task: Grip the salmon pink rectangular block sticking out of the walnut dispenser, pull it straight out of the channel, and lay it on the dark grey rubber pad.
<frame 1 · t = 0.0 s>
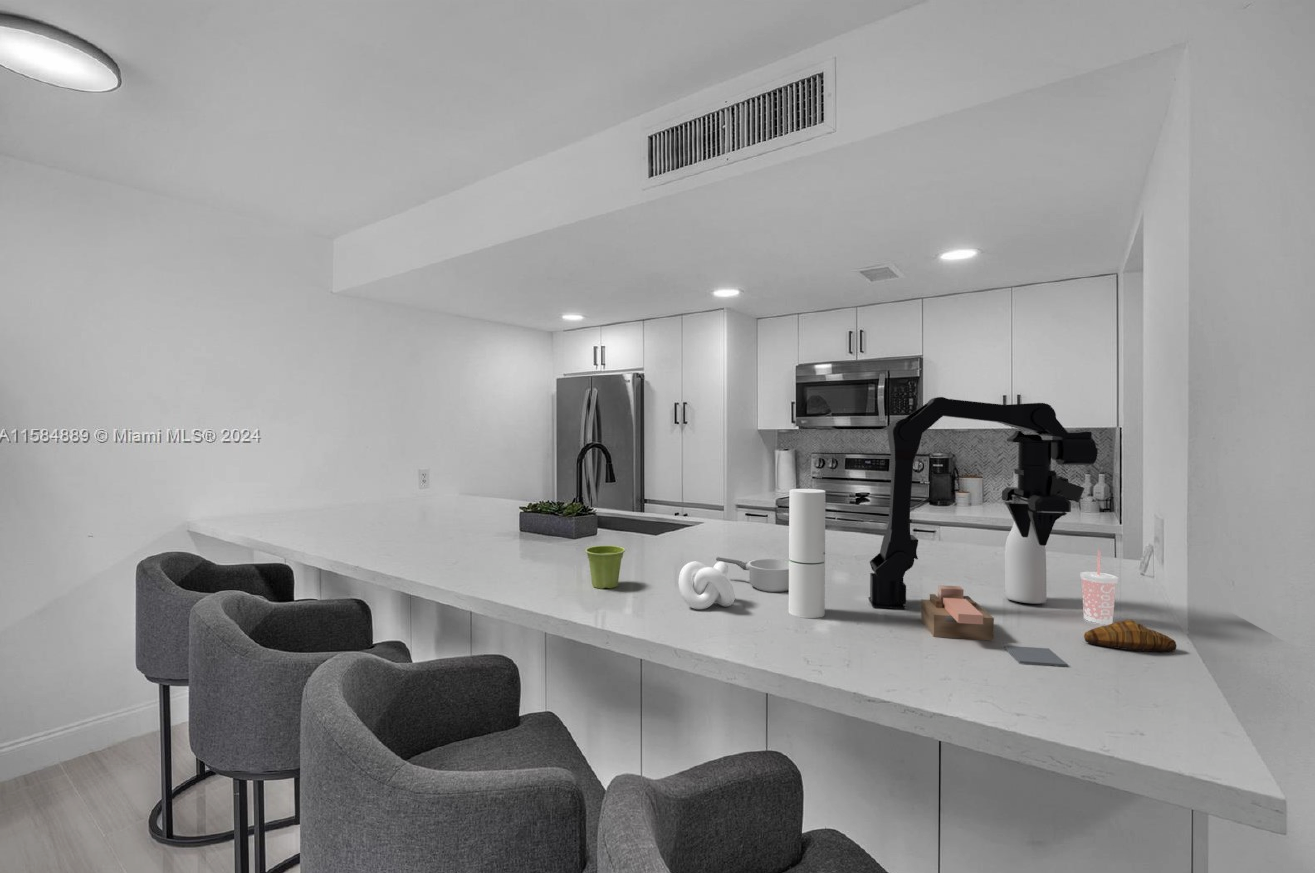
hand: (1033, 541, 125), 15 cm above the table, tool pointing down, fingers open, 8 cm apart
white decorative knot: (704, 606, 130), on the table
beverage cup: (1097, 621, 120), on the table
cylindrical container: (806, 613, 125), on the table
croissant: (1129, 649, 106), on the table
dispenser: (955, 629, 115), on the table
salmon pink rectangular block: (962, 614, 111), point 4 cm above the table, touching dispenser
pad: (1034, 656, 102), on the table
saucepan: (755, 585, 147), on the table
plant pot: (605, 586, 146), on the table
milk bottle: (1025, 601, 133), on the table, touching gripper
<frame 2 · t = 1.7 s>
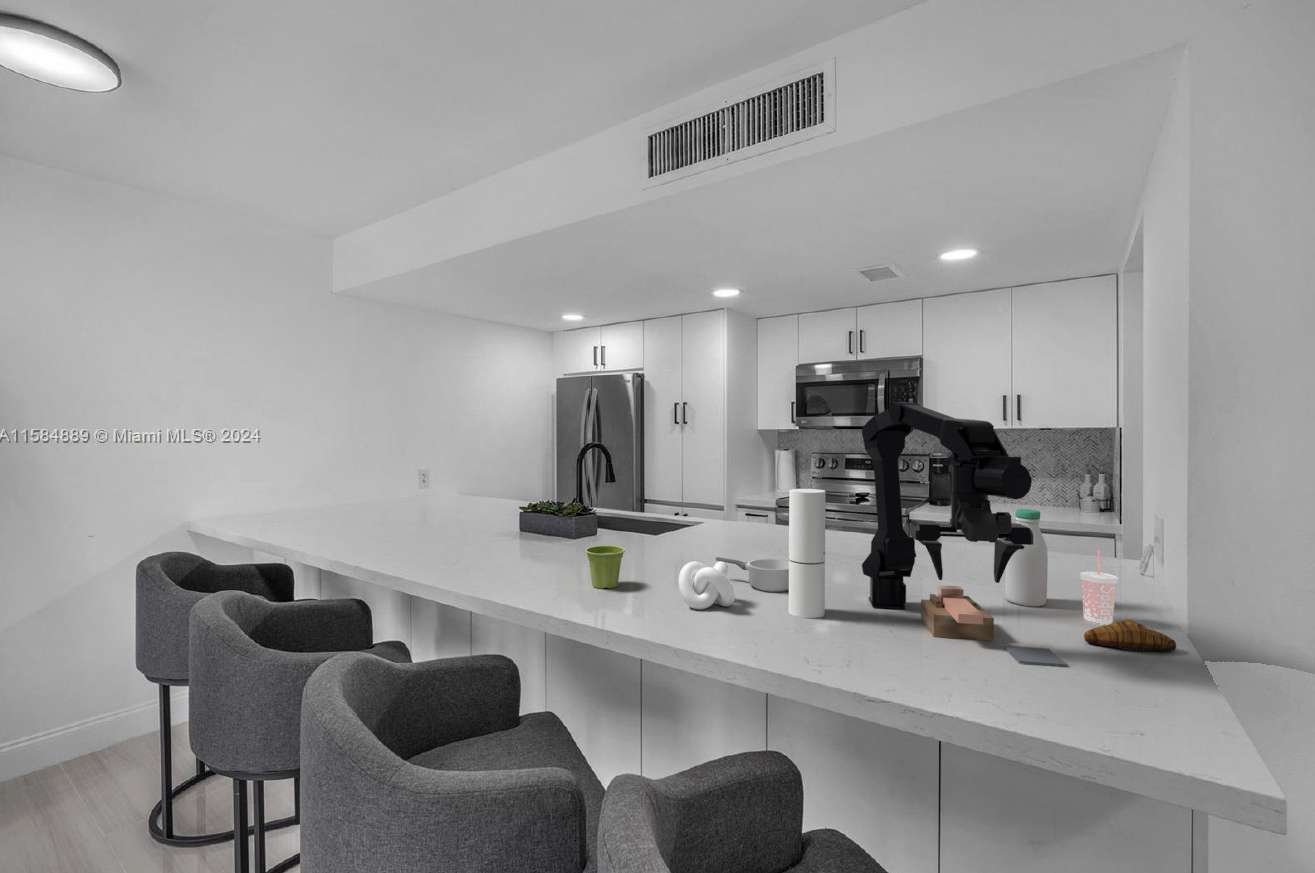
hand: (968, 580, 108), 11 cm above the table, tool pointing down, fingers open, 9 cm apart
milk bottle: (1025, 602, 133), on the table
everything else where it was.
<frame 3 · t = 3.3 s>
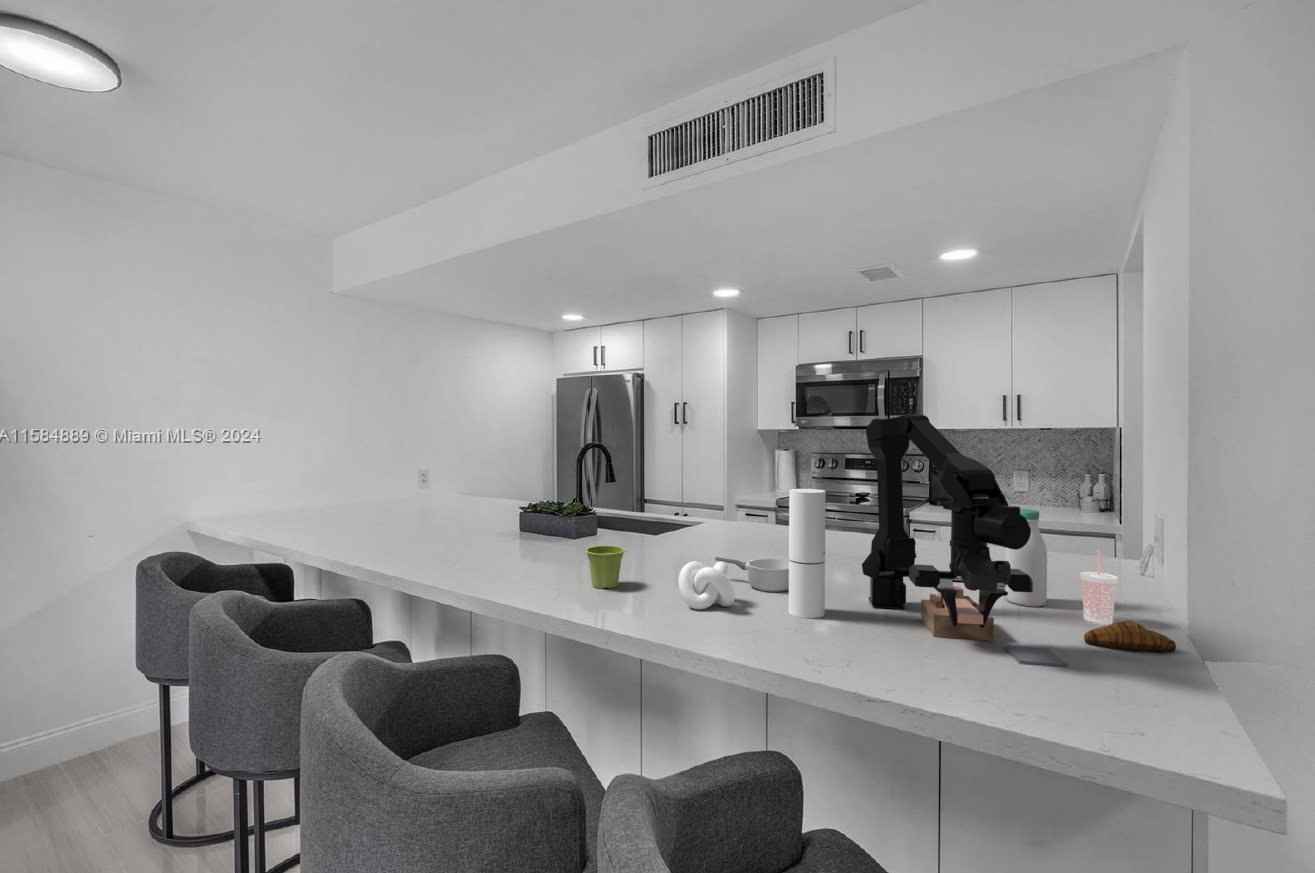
hand: (967, 626, 108), 3 cm above the table, tool pointing down, fingers closed on salmon pink rectangular block, 4 cm apart
salmon pink rectangular block: (962, 614, 111), point 4 cm above the table, touching dispenser, gripper
everything else where it was.
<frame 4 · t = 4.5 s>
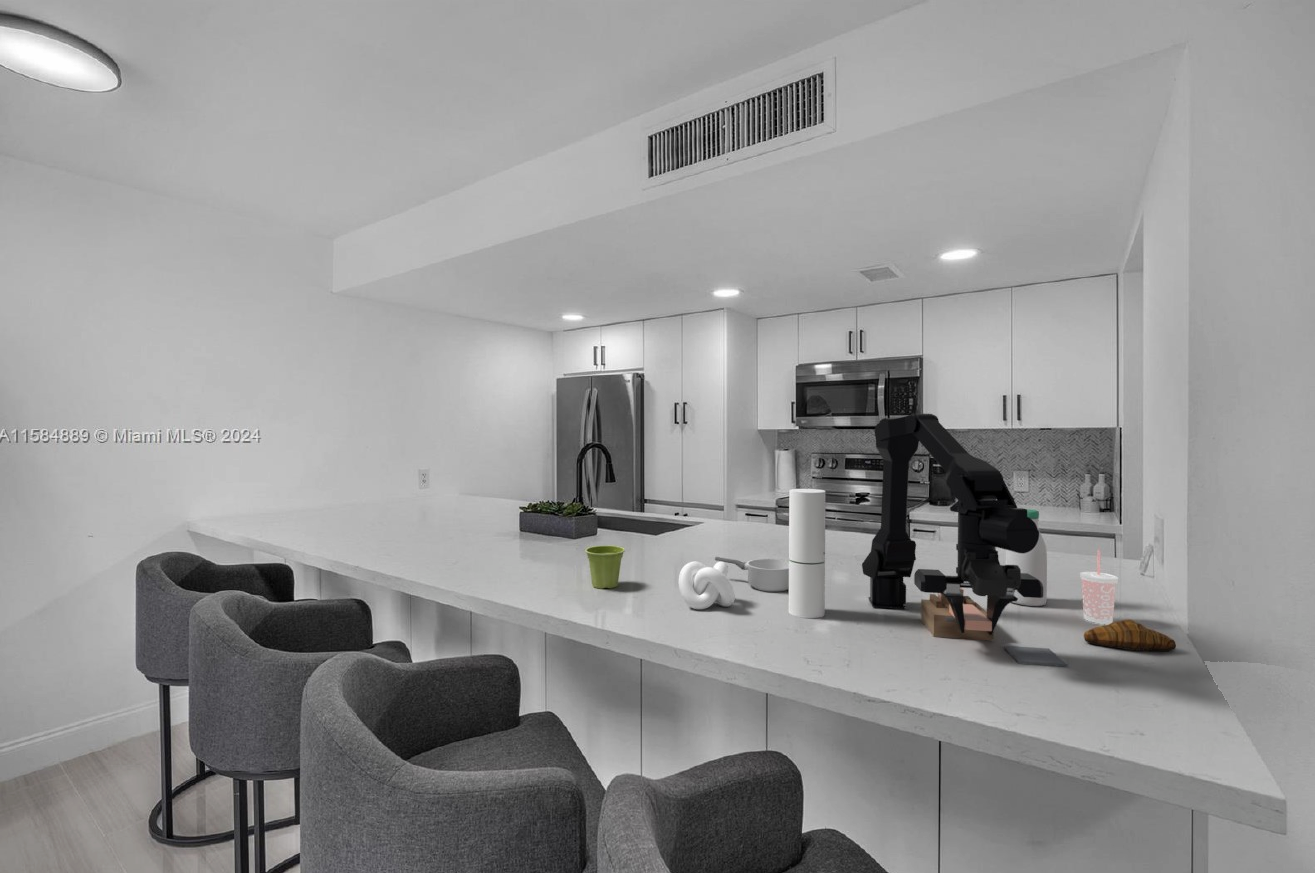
hand: (975, 633, 104), 3 cm above the table, tool pointing down, fingers closed on salmon pink rectangular block, 4 cm apart
salmon pink rectangular block: (969, 621, 107), point 4 cm above the table, touching gripper
everything else where it was.
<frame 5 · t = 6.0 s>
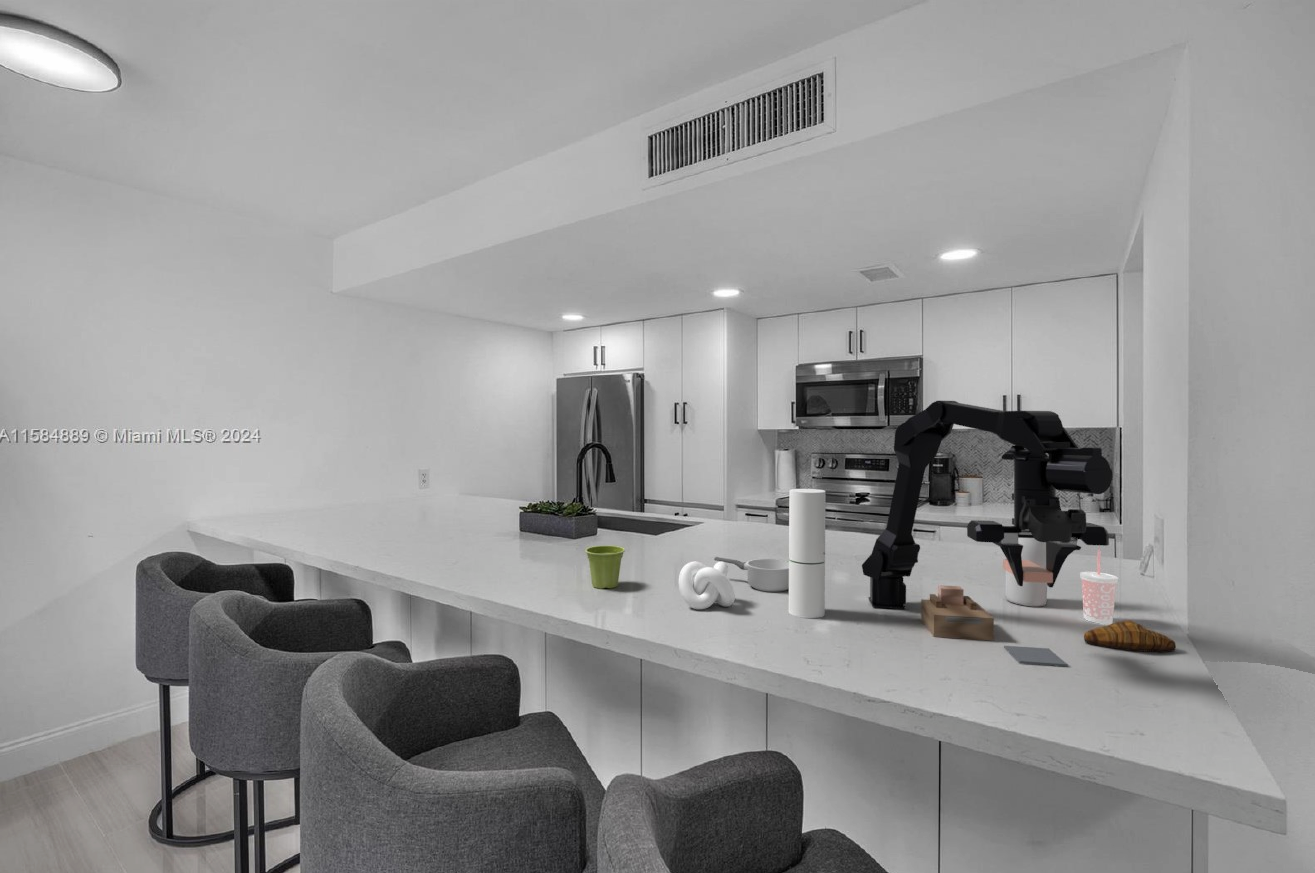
hand: (1035, 586, 98), 13 cm above the table, tool pointing down, fingers closed on salmon pink rectangular block, 4 cm apart
salmon pink rectangular block: (1026, 575, 101), point 14 cm above the table, touching gripper
everything else where it was.
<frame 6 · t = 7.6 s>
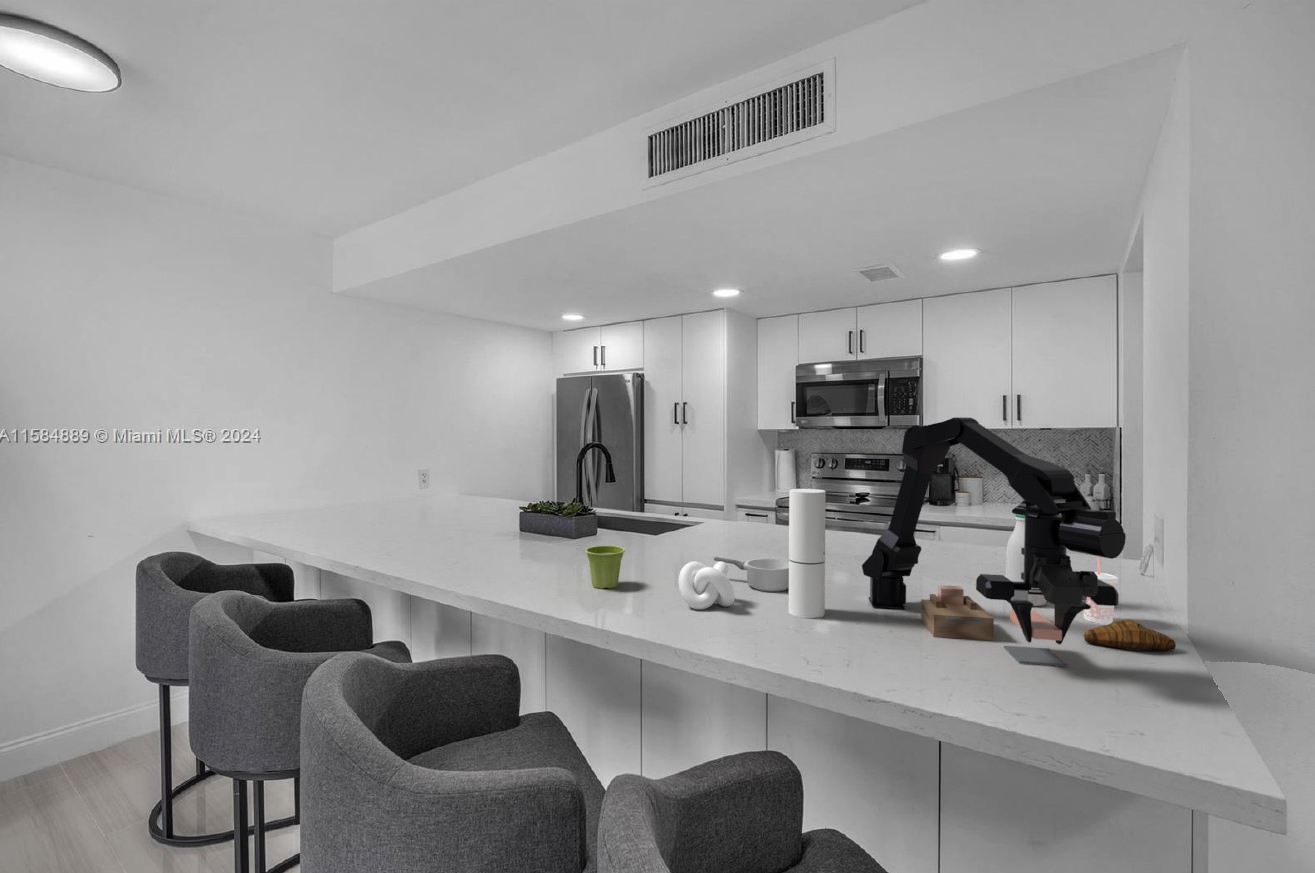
hand: (1043, 642, 98), 4 cm above the table, tool pointing down, fingers closed on salmon pink rectangular block, 4 cm apart
salmon pink rectangular block: (1034, 629, 102), point 5 cm above the table, touching gripper
everything else where it was.
when the fingers open (1 cm above the table, at t = 8.4 s): salmon pink rectangular block drops 2 cm, resting on pad.
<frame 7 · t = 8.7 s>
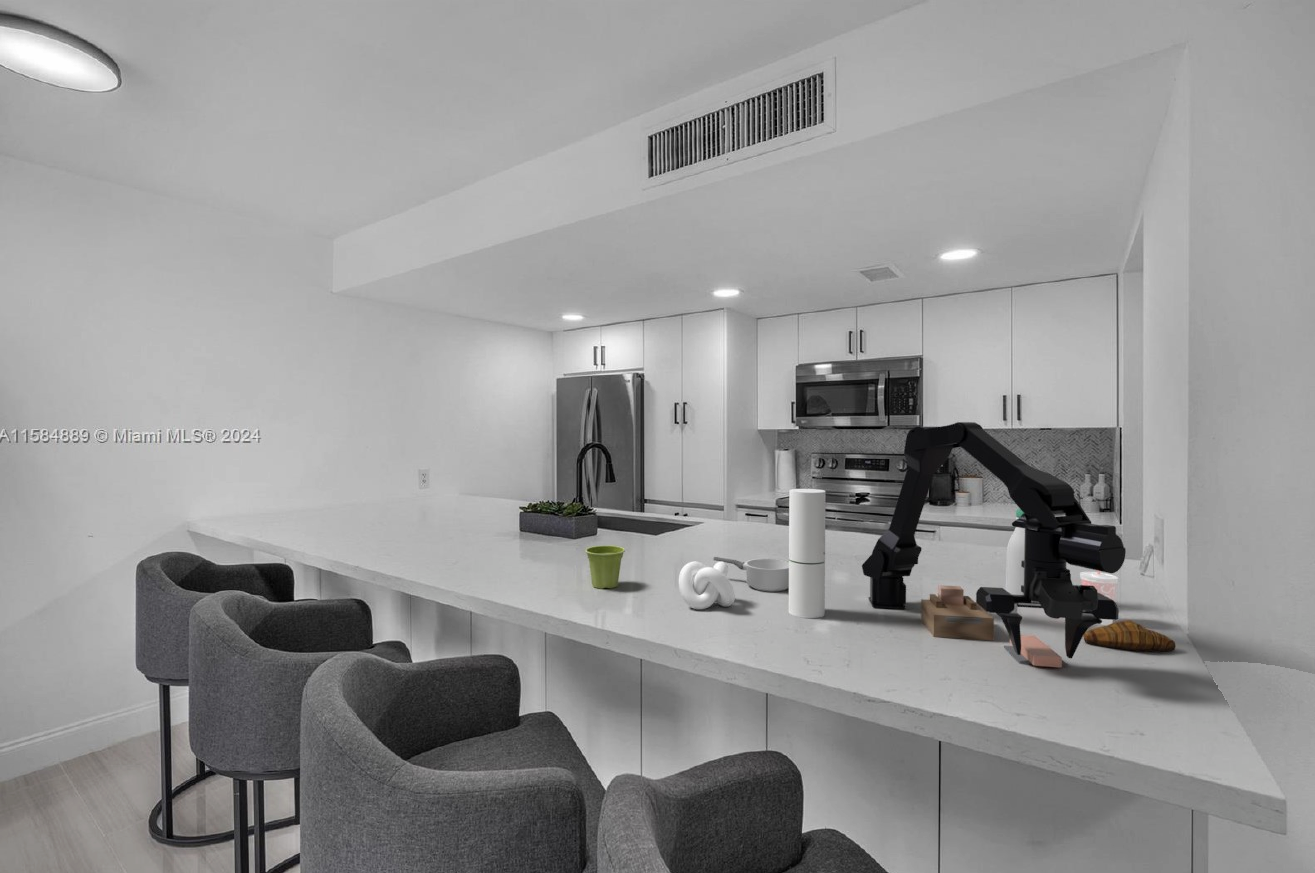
hand: (1043, 655, 98), 1 cm above the table, tool pointing down, fingers open, 7 cm apart
salmon pink rectangular block: (1034, 654, 102), resting on pad
everything else where it was.
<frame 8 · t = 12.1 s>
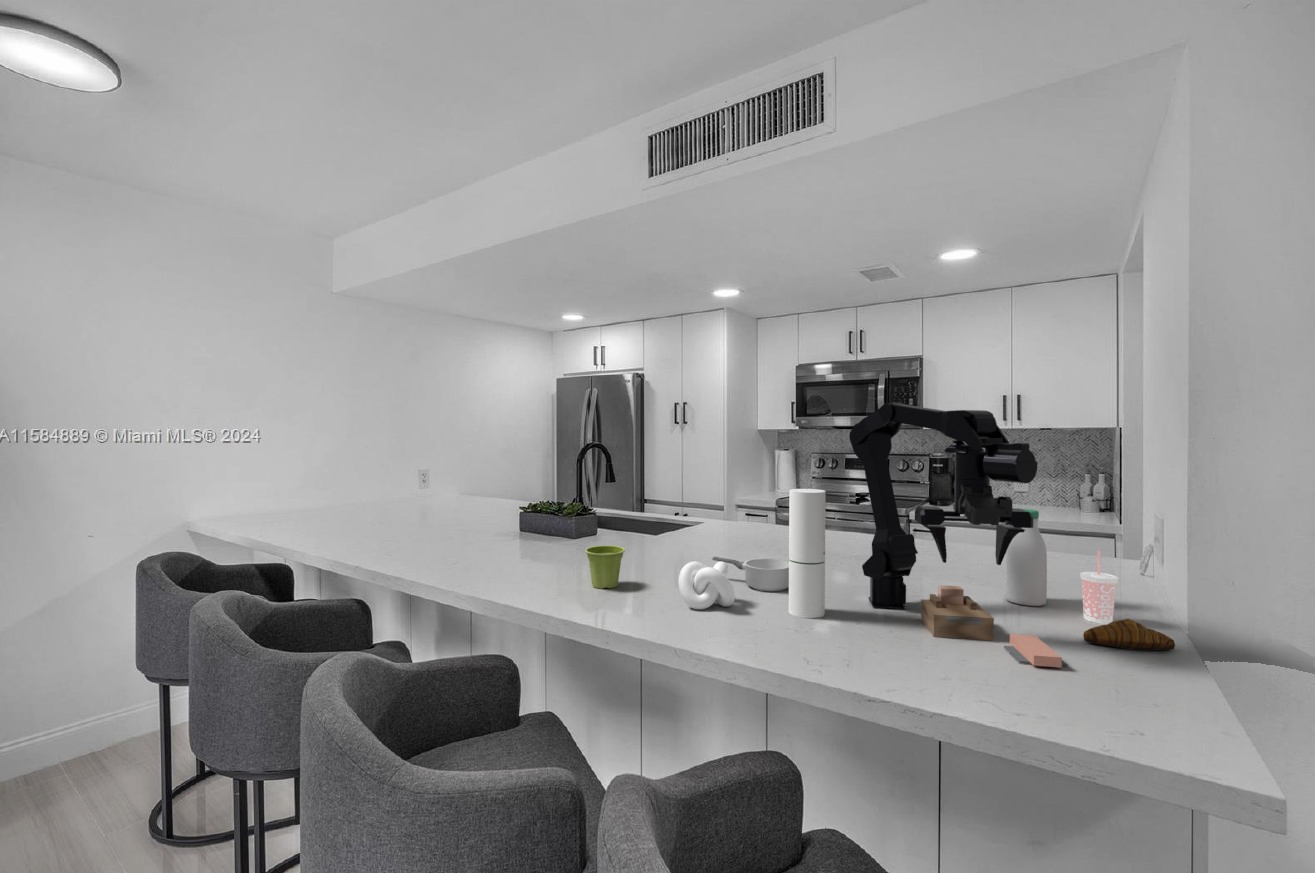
hand: (971, 563, 112), 13 cm above the table, tool pointing down, fingers open, 9 cm apart
nothing on the table moved.
at the end: salmon pink rectangular block inside the target area on the pad (0.1 cm from its centre), point 0.4 cm above the pad's base; salmon pink rectangular block touching pad; the gripper is holding nothing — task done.
